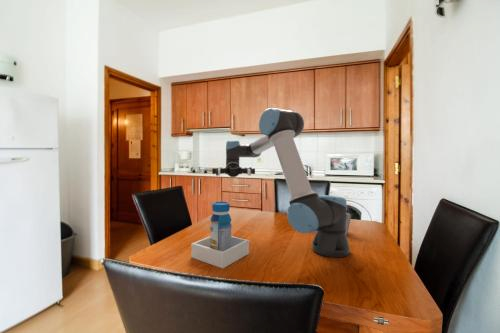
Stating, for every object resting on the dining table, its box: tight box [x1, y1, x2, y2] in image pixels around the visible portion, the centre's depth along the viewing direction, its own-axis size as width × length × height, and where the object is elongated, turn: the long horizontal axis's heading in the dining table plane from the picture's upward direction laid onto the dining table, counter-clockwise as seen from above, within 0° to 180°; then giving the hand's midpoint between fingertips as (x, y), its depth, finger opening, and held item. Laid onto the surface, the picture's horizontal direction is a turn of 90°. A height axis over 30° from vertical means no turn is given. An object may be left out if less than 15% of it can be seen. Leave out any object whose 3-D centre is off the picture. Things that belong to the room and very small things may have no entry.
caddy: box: [190, 235, 250, 269], centre depth 98 cm, size 16×16×6 cm
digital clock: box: [346, 212, 352, 236], centre depth 130 cm, size 16×9×11 cm, turn 27°
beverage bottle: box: [209, 200, 233, 252], centre depth 98 cm, size 8×8×20 cm
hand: (234, 172), depth 110 cm, fingers open, 13 cm apart
